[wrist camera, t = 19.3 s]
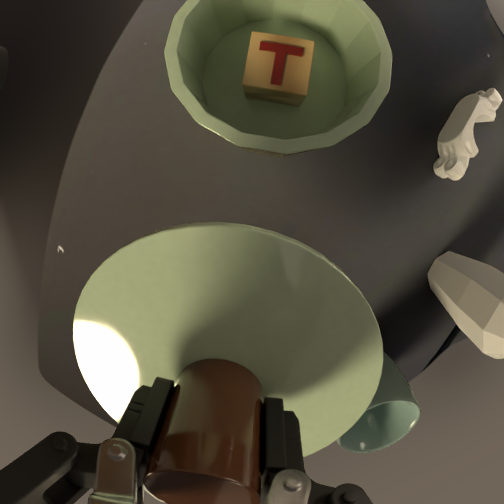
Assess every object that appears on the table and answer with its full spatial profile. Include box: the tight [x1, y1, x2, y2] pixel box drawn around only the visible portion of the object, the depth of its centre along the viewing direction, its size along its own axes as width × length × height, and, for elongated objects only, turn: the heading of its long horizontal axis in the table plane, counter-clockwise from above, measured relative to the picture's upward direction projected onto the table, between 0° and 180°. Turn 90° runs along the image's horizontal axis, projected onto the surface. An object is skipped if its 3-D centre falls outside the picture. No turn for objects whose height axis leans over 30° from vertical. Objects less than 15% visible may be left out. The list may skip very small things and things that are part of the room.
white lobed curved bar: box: [433, 88, 502, 180], centre depth 20 cm, size 12×2×4 cm, turn 145°
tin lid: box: [73, 222, 384, 504], centre depth 10 cm, size 15×15×7 cm
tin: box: [164, 0, 392, 157], centre depth 18 cm, size 14×14×8 cm
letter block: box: [242, 31, 315, 107], centre depth 19 cm, size 4×4×5 cm
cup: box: [337, 352, 420, 453], centre depth 25 cm, size 8×8×10 cm
